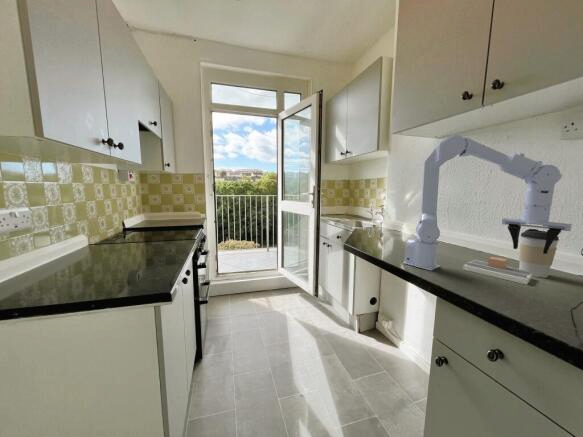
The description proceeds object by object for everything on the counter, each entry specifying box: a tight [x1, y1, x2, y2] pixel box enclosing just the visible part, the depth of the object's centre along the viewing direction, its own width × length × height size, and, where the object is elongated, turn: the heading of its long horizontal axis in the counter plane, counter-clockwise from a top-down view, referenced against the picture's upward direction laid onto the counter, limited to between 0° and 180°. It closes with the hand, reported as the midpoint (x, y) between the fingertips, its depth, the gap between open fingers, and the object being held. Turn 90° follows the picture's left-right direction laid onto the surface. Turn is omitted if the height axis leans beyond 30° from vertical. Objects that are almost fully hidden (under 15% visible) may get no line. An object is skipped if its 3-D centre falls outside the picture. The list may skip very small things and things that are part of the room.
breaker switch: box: [487, 256, 508, 270], centre depth 79 cm, size 4×4×4 cm
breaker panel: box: [462, 259, 533, 286], centre depth 79 cm, size 16×9×2 cm, turn 39°
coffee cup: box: [518, 228, 560, 279], centre depth 80 cm, size 9×9×15 cm
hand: (529, 250), depth 73 cm, fingers open, 6 cm apart
